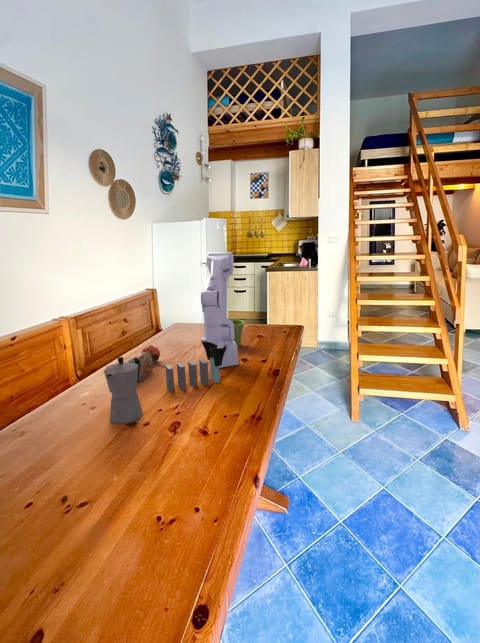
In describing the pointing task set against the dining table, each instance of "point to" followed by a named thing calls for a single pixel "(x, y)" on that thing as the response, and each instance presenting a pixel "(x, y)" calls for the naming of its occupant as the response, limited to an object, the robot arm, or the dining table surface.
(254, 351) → the dining table surface
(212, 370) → the teal domino
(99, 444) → the dining table surface
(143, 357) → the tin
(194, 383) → the domino
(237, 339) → the plant pot
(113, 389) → the coffeepot
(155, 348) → the pomegranate
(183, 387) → the domino
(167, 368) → the domino
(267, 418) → the dining table surface
